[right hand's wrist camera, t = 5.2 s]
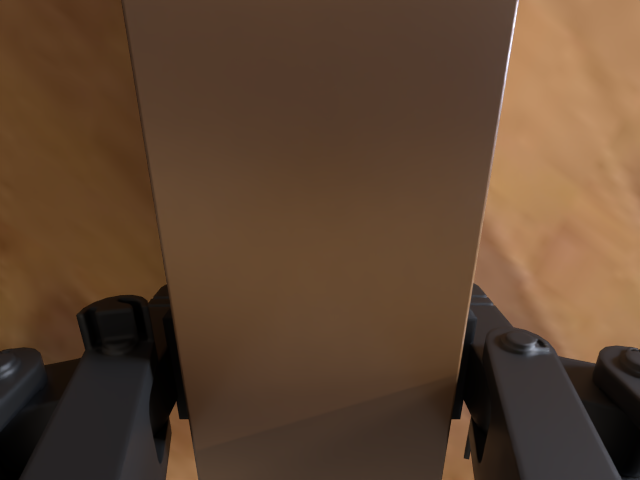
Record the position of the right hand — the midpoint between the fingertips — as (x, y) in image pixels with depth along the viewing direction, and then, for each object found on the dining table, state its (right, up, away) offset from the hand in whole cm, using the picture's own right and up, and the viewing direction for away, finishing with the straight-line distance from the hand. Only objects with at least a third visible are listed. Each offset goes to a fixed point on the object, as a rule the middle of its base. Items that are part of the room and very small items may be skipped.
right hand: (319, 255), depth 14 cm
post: (0, +30, -11) cm, 32 cm away
